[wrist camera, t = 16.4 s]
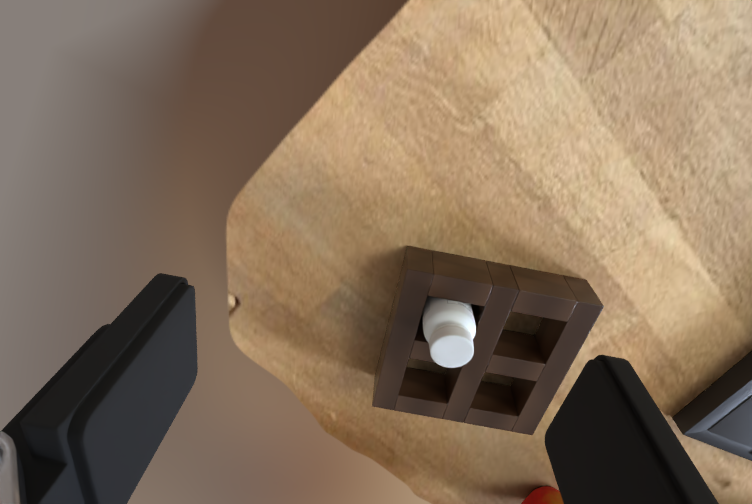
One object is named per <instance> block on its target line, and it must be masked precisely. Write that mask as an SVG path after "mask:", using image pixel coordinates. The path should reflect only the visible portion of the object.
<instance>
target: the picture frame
mask: <svg viewBox="0 0 752 504" xmlns="http://www.w3.org/2000/svg"><path fill="white" fill-rule="evenodd" d="M673 420H674V421H675V423H676V424H677V426H678V428H679V429H680V431H681V432H682V434H683V435H686V436H689V437H691V438H694V439H696V440H699V441H702V442H704V443H707V444H709V445H712V446H715V447H717V448H720V449H722V450H725V451H727V452H730V453H733V454H735V455H738V456H740V457H743V458H746V459H748V460H751V461H752V351H751V352H750V353H749V354H748V355H747V356H745V357H744V358H743V359H742V360H741V361H740V362H738V363H737V364H736V365H735V366H734V367H732V368H731V369H730V370H729V371H728V372H726V373H725V374H724V375H723V376H722V377H720V378H719V379H718V380H717V381H716V382H715V383H713V384H712V385H711V386H710V387H709V388H707V389H706V390H705V391H704V392H703V393H701V394H700V395H699V396H698V397H697V398H695V399H694V400H693V401H692V402H691V403H689V404H688V405H687V406H686V407H685V408H684V409H682V410H681V411H680V412H679V413H678V414H676V415H675V416H674V417H673Z"/></svg>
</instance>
